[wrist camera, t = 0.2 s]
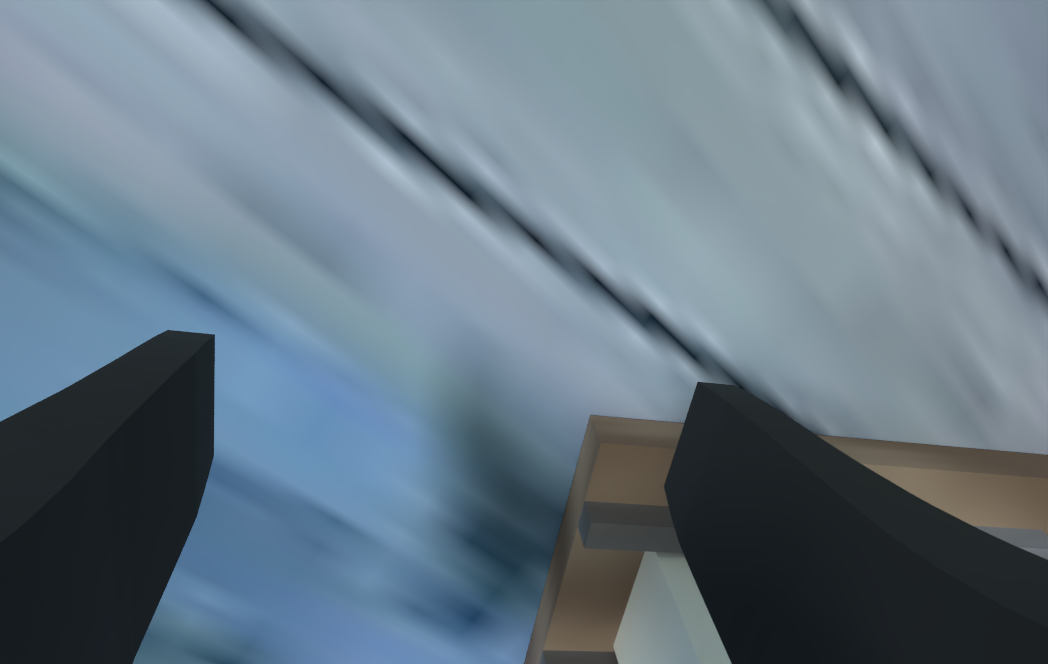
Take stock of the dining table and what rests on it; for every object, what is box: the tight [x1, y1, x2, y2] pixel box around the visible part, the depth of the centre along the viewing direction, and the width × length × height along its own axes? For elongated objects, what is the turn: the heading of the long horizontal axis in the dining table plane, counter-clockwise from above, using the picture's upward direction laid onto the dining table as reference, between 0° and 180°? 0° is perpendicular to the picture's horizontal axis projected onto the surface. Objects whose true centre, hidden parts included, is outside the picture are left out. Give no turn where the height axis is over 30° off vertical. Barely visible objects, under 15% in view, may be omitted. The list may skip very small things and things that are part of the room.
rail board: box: [524, 415, 1048, 664], centre depth 27 cm, size 12×22×4 cm, turn 79°
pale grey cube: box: [613, 551, 731, 664], centre depth 24 cm, size 5×5×5 cm
